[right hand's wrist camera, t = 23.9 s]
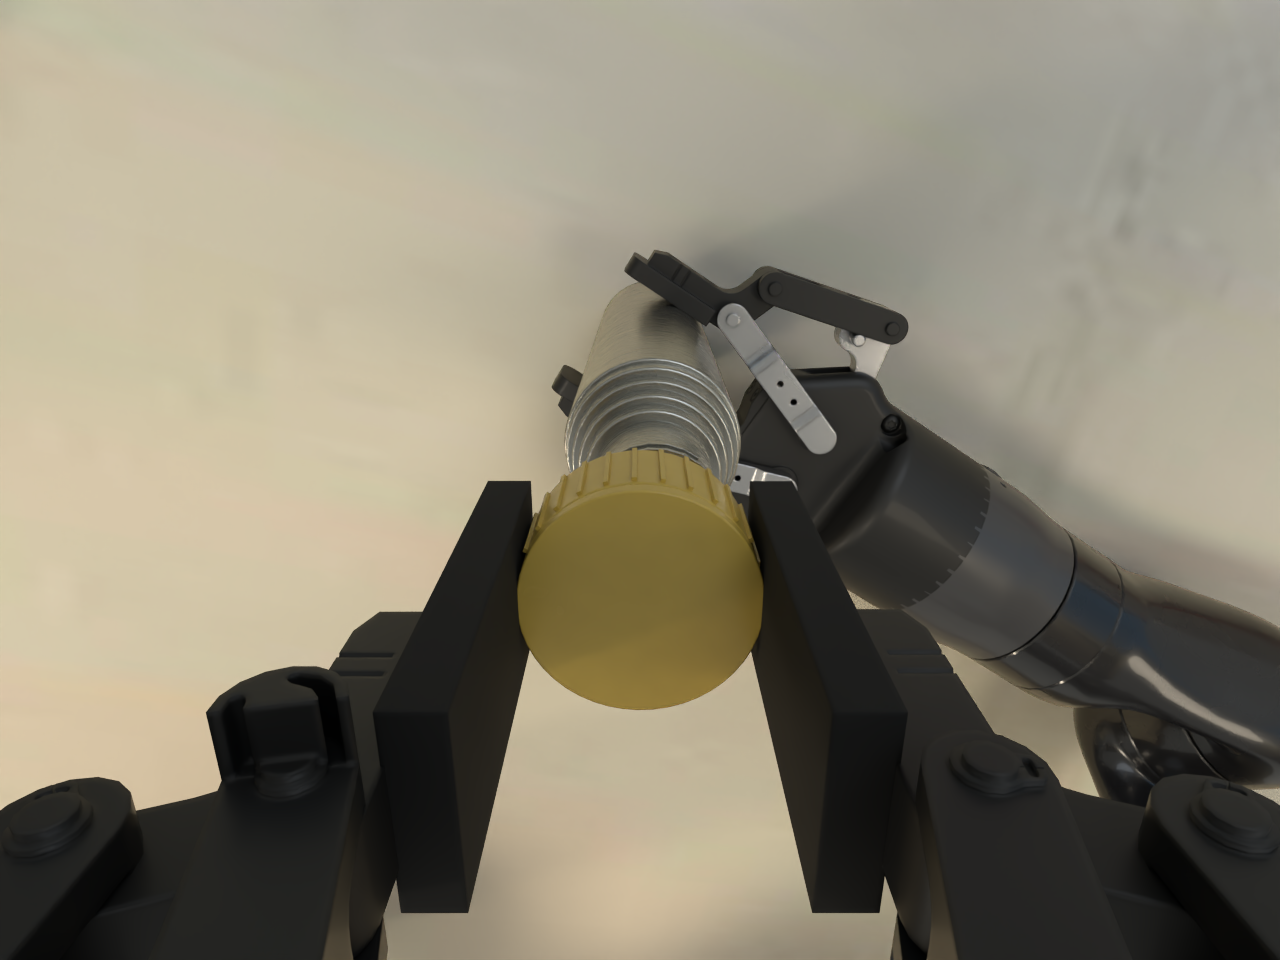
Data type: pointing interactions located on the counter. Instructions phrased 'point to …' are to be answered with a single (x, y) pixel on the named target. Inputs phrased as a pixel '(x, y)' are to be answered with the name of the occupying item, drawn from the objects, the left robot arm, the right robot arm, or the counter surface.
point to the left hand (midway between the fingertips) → (594, 321)
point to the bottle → (653, 389)
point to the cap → (640, 581)
